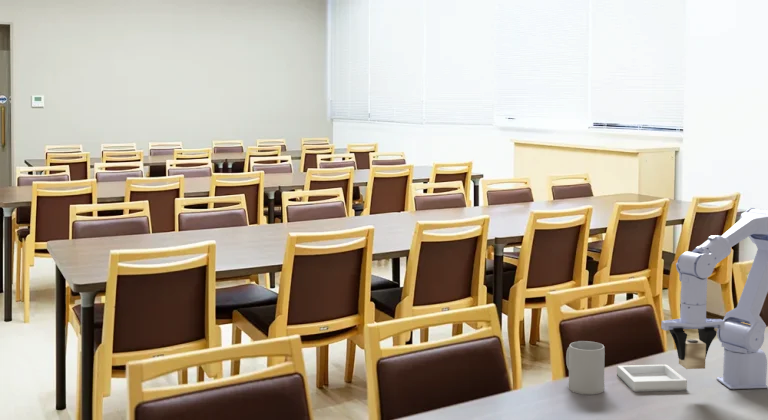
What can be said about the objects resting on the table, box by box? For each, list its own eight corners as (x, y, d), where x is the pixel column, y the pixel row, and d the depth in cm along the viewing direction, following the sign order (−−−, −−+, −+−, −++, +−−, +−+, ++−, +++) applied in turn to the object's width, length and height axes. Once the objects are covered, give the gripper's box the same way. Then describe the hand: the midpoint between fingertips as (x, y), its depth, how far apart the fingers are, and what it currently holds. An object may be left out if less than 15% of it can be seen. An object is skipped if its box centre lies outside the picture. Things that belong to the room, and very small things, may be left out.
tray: (666, 373, 216) (666, 364, 216) (686, 390, 204) (686, 380, 203) (616, 375, 216) (617, 365, 216) (633, 391, 203) (634, 381, 203)
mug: (611, 391, 203) (612, 347, 202) (582, 397, 200) (583, 352, 199) (580, 377, 214) (581, 336, 213) (553, 382, 211) (553, 340, 210)
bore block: (697, 362, 202) (697, 337, 201) (705, 368, 197) (705, 343, 197) (678, 363, 202) (679, 338, 201) (686, 369, 197) (687, 343, 196)
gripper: (716, 298, 202) (714, 352, 204) (657, 299, 201) (655, 354, 203) (729, 304, 195) (727, 361, 197) (668, 306, 194) (666, 363, 196)
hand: (691, 358), depth 199 cm, fingers closed on bore block, 4 cm apart
